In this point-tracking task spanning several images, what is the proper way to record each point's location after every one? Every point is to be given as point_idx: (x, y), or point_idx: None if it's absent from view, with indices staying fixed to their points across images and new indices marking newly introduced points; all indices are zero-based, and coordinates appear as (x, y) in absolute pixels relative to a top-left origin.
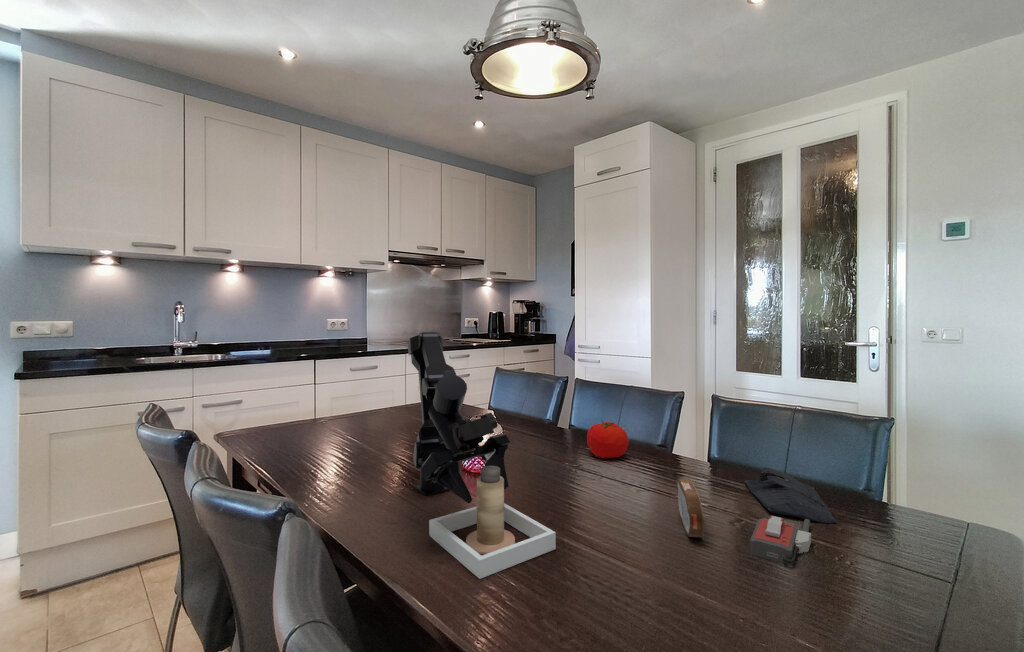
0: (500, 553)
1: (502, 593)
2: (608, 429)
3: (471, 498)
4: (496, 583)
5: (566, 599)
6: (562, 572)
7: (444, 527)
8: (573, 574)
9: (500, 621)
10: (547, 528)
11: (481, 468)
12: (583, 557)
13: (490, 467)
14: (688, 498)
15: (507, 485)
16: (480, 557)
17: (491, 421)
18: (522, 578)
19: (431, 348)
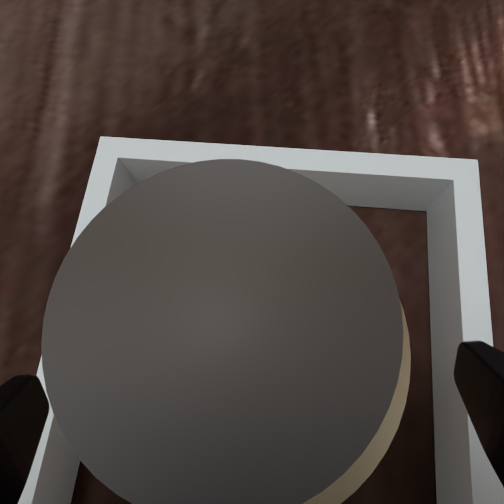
0: (375, 155)
1: (426, 103)
2: None
3: (473, 343)
4: (413, 147)
5: (305, 3)
6: (219, 76)
7: None
8: (205, 55)
9: (495, 31)
10: (94, 176)
11: (336, 455)
12: (109, 91)
13: (168, 370)
14: None
15: (25, 375)
16: (463, 172)
17: None
18: (332, 120)
19: None
